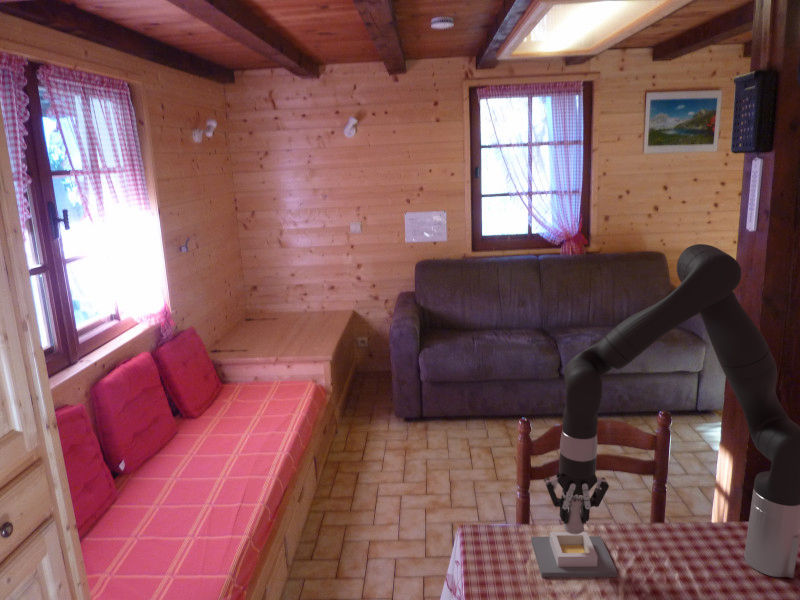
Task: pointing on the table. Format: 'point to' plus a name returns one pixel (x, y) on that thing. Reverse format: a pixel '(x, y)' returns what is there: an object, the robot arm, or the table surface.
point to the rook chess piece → (574, 516)
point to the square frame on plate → (572, 556)
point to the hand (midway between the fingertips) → (574, 521)
